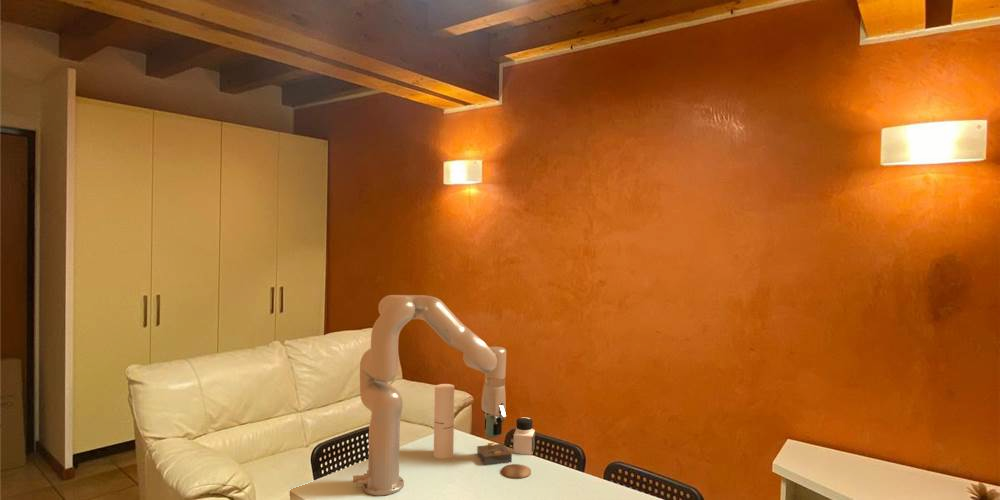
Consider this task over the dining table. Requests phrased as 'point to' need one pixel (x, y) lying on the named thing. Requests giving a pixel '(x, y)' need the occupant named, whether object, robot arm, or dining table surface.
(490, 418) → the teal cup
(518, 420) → the medicine bottle
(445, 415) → the cylindrical container
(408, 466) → the dining table surface
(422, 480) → the dining table surface
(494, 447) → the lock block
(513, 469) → the coaster
